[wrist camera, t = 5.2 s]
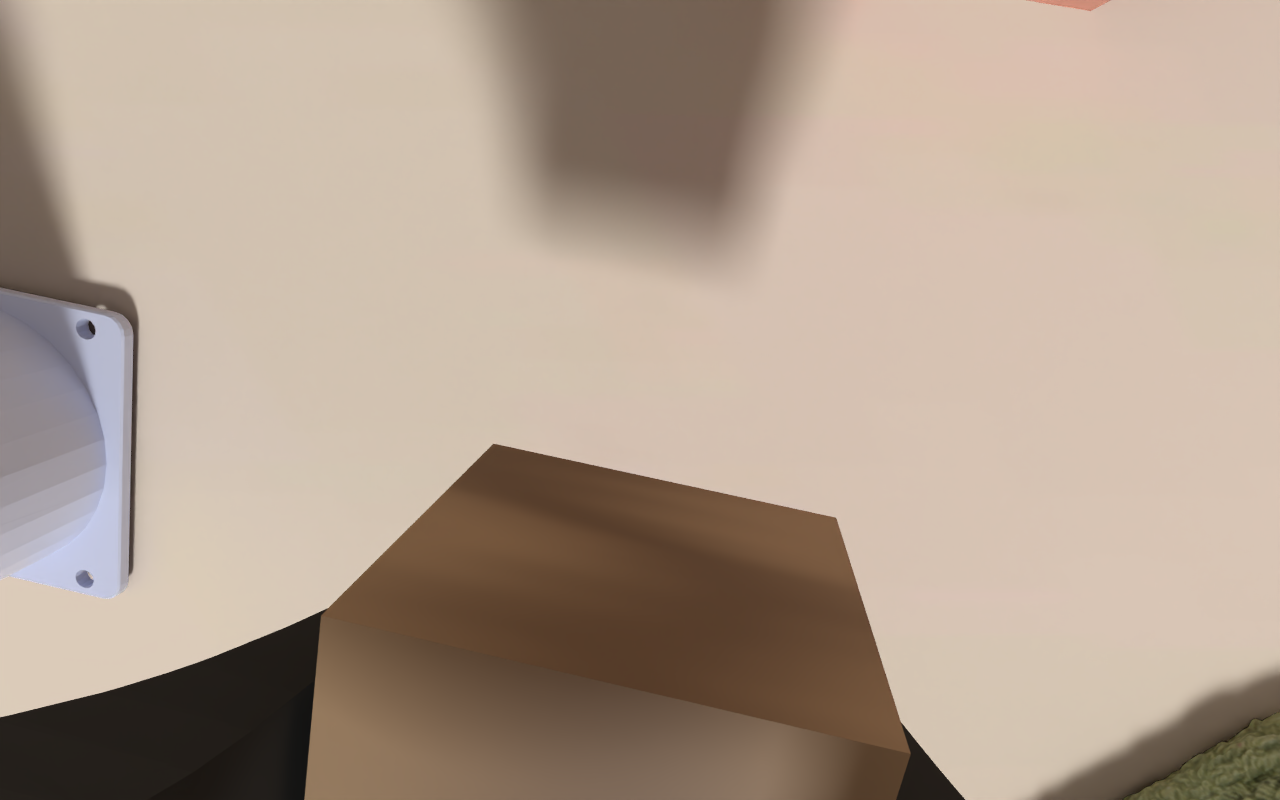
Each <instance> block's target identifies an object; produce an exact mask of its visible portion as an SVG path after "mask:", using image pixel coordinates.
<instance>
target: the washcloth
mask: <svg viewBox="0 0 1280 800" xmlns="http://www.w3.org/2000/svg"><path fill="white" fill-rule="evenodd" d="M1123 800H1280V712H1278V713H1275V714H1273V715H1272V716H1270V717H1268V718H1266V719H1264V720H1263V721H1260V720H1258V719H1253V720H1252V721H1251V723H1250V725H1249V727H1248V728H1246V729H1244V730H1242V731H1241V732H1240V733H1239V734H1237V735H1236V736H1234V737H1233V738H1232V739H1230V740H1229V741H1228V742H1220V743H1218V745H1217V746H1214V747H1212V748H1211V749H1209V750H1207V751H1206V752H1204V753H1203V754H1198V755H1197V756H1195V757H1194V758H1192V759H1190V760H1189V761H1188V762H1187V763H1185V764H1184V765H1183V766H1182V767H1181V769H1180V770H1178V771H1175V772H1173V773H1171V774H1170V775H1169V776H1168V777H1167V778H1166V779H1164V780H1160V781H1157V782H1154V784H1153V785H1151V786H1149V787H1146V788H1144V789H1143V790H1142V791H1141V792H1139V793H1137V794H1132V795H1129V796H1127V797H1125V798H1124V799H1123Z"/></svg>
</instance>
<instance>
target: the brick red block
mask: <svg viewBox="0 0 1280 800" xmlns="http://www.w3.org/2000/svg"><path fill="white" fill-rule="evenodd" d="M1028 1H1034V2H1040V3H1046V4H1052V5H1058V6H1064V7H1070V8H1076V9H1082V10H1088V11H1091V10H1093V9H1095V8H1097V7H1099V6H1101V5H1103V4H1104V3H1106V2H1108V1H1110V0H1028Z"/></svg>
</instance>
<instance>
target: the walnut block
mask: <svg viewBox="0 0 1280 800" xmlns="http://www.w3.org/2000/svg"><path fill="white" fill-rule="evenodd" d="M910 755H911V753H910V750H909V747H908V744H907V740H906V737H905V734H904V731H903V728H902V725H901V721H900V718H899V715H898V712H897V709H896V706H895V703H894V699H893V696H892V693H891V690H890V687H889V684H888V680H887V677H886V674H885V671H884V668H883V665H882V661H881V658H880V655H879V652H878V649H877V646H876V642H875V639H874V636H873V633H872V630H871V627H870V624H869V620H868V617H867V614H866V611H865V608H864V605H863V601H862V598H861V595H860V592H859V589H858V586H857V582H856V579H855V576H854V573H853V570H852V567H851V563H850V560H849V557H848V554H847V551H846V548H845V545H844V541H843V538H842V535H841V532H840V529H839V526H838V522H837V519H836V518H834V517H830V516H825V515H820V514H816V513H811V512H807V511H802V510H797V509H793V508H788V507H783V506H779V505H774V504H770V503H765V502H760V501H756V500H751V499H746V498H742V497H737V496H733V495H728V494H723V493H719V492H714V491H709V490H705V489H700V488H696V487H691V486H686V485H682V484H677V483H672V482H668V481H663V480H659V479H654V478H649V477H645V476H640V475H636V474H631V473H626V472H622V471H617V470H612V469H608V468H603V467H599V466H594V465H589V464H585V463H580V462H575V461H571V460H566V459H562V458H557V457H552V456H548V455H543V454H538V453H534V452H529V451H525V450H520V449H515V448H511V447H506V446H501V445H497V444H493V445H492V446H491V447H490V448H489V449H488V450H487V451H486V452H485V453H484V454H483V455H482V456H481V457H480V458H479V459H478V460H477V461H476V462H475V463H474V464H473V465H472V466H471V467H470V468H469V469H468V470H467V471H466V472H465V473H464V474H463V475H462V476H461V477H460V478H459V479H458V480H457V481H456V482H455V483H454V484H453V485H452V486H451V487H450V488H449V489H448V490H447V491H446V492H445V493H444V494H443V495H442V496H441V497H440V498H439V499H438V500H437V501H436V502H435V503H434V504H433V505H432V506H431V507H430V508H429V509H428V510H427V511H426V512H425V513H424V514H423V515H422V516H421V517H420V518H419V519H418V520H417V521H416V522H415V523H414V524H412V525H411V526H410V527H409V528H408V529H407V530H406V531H405V532H404V533H403V534H402V535H401V536H400V537H399V538H398V539H397V540H396V541H395V542H394V543H393V544H392V545H391V546H390V547H389V548H388V549H387V550H386V551H385V552H384V553H383V554H382V555H381V556H380V557H379V558H378V559H377V560H376V561H375V562H374V563H373V564H372V565H371V566H370V567H369V568H368V569H367V570H366V571H365V572H364V573H363V574H362V575H361V576H360V577H359V578H358V579H357V580H356V581H355V582H354V583H353V584H352V585H351V586H350V587H349V588H348V589H347V590H346V591H345V592H344V593H343V594H342V595H341V596H340V597H339V598H338V599H337V600H336V601H335V602H334V603H333V604H332V605H331V606H330V607H329V608H328V609H327V610H326V611H325V612H324V613H323V614H322V615H321V622H320V633H319V644H318V655H317V666H316V677H315V688H314V699H313V710H312V721H311V733H310V744H309V755H308V766H307V777H306V788H305V799H304V800H896V798H897V795H898V792H899V789H900V786H901V783H902V780H903V776H904V773H905V770H906V767H907V764H908V761H909V758H910Z"/></svg>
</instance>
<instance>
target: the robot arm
mask: <svg viewBox="0 0 1280 800" xmlns="http://www.w3.org/2000/svg"><path fill="white" fill-rule="evenodd" d="M89 321H91V322H92V323H93V325H94V326H95V330H96V332H95V335H93V334H92V333H91V332H90V330H89V326H88V323H89ZM132 375H133V330H132V326H131V324H130V323H129V321H128V320H127V319H126V318H125V317H124V316H123V315H122V314H119V313H117V312H114V311H109V310H104V309H100V308H95V307H90V306H86V305H81V304H76V303H71V302H67V301H62V300H57V299H52V298H48V297H43V296H38V295H34V294H29V293H24V292H19V291H15V290H10V289H5V288H0V580H2V579H4V578H6V577H8V576H10V577H14V578H18V579H23V580H27V581H31V582H35V583H39V584H44V585H48V586H52V587H56V588H61V589H65V590H69V591H73V592H78V593H82V594H86V595H90V596H94V597H99V598H103V599H110V598H113V597H115V596H117V595H118V594H120V593H122V592H123V591H124V590H125V589H126V588H127V585H128V575H129V525H130V475H131V425H132ZM87 572H89V573H90V574H91V575H92V576H93V580H92V579H91V578H90V577H89V576H88V573H87ZM327 609H328V608H327ZM327 609H325V610H323V611H321V612H319V613H317V614H314V615H312V616H310V617H308V618H306V619H303V620H301V621H299V622H297V623H295V624H293V625H290V626H288V627H286V628H283V629H281V630H278V631H276V632H274V633H271V634H269V635H266V636H264V637H261V638H259V639H256V640H254V641H251V642H249V643H246V644H244V645H241V646H239V647H237V648H234V649H232V650H229V651H227V652H224V653H222V654H219V655H217V656H214V657H212V658H209V659H206V660H203V661H201V662H198V663H195V664H192V665H189V666H186V667H184V668H181V669H178V670H175V671H172V672H169V673H166V674H162V675H159V676H156V677H153V678H150V679H146V680H143V681H140V682H137V683H134V684H130V685H127V686H124V687H120V688H117V689H113V690H110V691H106V692H103V693H99V694H95V695H91V696H87V697H83V698H79V699H74V700H70V701H66V702H62V703H58V704H54V705H50V706H46V707H42V708H38V709H34V710H30V711H26V712H21V713H17V714H13V715H9V716H5V717H0V800H304V799H305V788H306V777H307V766H308V755H309V744H310V733H311V721H312V710H313V699H314V688H315V677H316V666H317V655H318V644H319V633H320V622H321V615H322V614H323V613H324V612H325V611H326V610H327ZM901 725H902V728H903V731H904V734H905V737H906V740H907V744H908V747H909V750H910V753H911V755H910V758H909V761H908V764H907V767H906V770H905V773H904V776H903V780H902V783H901V786H900V789H899V792H898V795H897V798H896V800H965V799H964V798H963V797H962V795H961V794H960V793H959V792H958V791H957V790H956V788H955V787H954V786H953V785H952V784H951V783H950V781H949V780H948V779H947V778H946V777H945V776H944V774H943V773H942V772H941V771H940V770H939V768H938V767H937V766H936V765H935V764H934V762H933V761H932V760H931V759H930V758H929V756H928V755H927V754H926V753H925V751H924V750H923V749H922V748H921V747H920V745H919V744H918V743H917V742H916V740H915V739H914V738H913V737H912V735H911V734H910V733H909V732H908V730H907V729H906V728H905V727H904V725H903V724H902V723H901Z"/></svg>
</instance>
